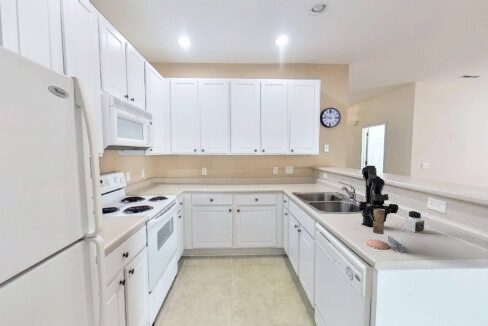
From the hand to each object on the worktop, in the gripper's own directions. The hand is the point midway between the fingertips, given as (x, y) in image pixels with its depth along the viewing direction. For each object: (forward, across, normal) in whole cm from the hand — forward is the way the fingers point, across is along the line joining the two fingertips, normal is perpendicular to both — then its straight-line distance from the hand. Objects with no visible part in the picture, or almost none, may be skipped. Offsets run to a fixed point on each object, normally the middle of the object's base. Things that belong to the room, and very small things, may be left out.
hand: (379, 221), depth 122 cm
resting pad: (+9, 0, +10) cm, 13 cm away
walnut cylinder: (+4, 0, +6) cm, 7 cm away
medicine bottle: (-14, +25, +34) cm, 45 cm away
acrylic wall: (+8, +8, +11) cm, 16 cm away
